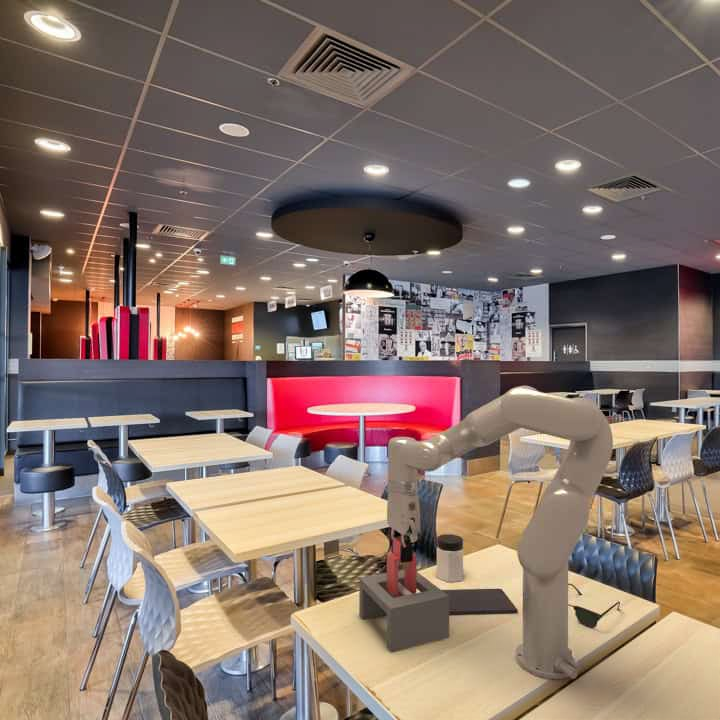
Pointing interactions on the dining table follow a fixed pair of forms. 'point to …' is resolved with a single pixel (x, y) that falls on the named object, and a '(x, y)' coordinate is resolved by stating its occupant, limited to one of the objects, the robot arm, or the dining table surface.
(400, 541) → the red stepped block
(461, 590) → the notebook
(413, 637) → the grey frame with crossbar
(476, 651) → the dining table surface
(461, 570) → the jar
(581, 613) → the sunglasses
